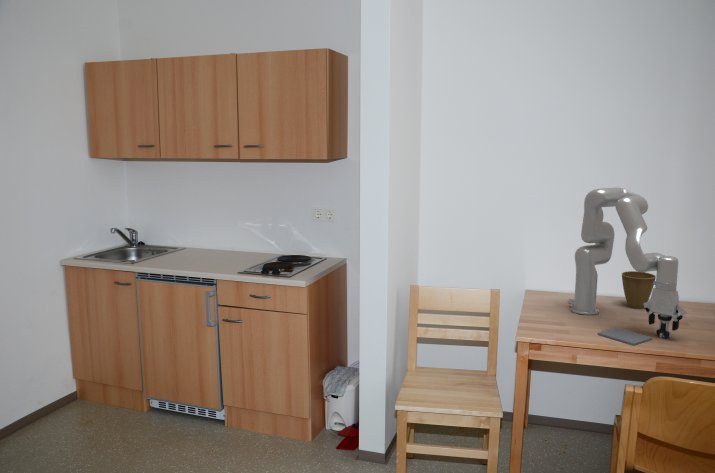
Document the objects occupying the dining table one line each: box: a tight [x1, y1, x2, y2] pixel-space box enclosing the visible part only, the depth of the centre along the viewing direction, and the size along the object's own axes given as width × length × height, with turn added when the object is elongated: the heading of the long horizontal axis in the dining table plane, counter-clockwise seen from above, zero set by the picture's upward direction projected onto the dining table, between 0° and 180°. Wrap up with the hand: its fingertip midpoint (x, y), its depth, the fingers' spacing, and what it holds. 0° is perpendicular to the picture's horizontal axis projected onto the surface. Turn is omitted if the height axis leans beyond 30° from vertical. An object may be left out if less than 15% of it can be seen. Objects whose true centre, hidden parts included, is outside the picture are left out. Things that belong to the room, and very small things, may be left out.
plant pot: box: [621, 270, 656, 309], centre depth 282 cm, size 15×15×16 cm
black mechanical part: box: [654, 313, 673, 340], centre depth 239 cm, size 7×5×10 cm
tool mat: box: [597, 327, 653, 346], centre depth 239 cm, size 16×13×1 cm
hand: (663, 326), depth 239 cm, fingers open, 9 cm apart
